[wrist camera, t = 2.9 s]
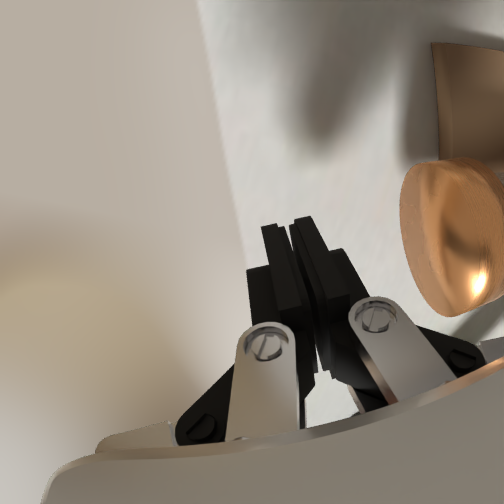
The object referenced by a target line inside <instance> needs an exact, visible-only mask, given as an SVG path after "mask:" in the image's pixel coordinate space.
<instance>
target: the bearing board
mask: <svg viewBox="0 0 504 504" xmlns="http://www.w3.org/2000/svg"><path fill="white" fill-rule="evenodd" d="M431 46H432V53H433V61H434V69H435V78H436V89H437V102H438V121H439V160H446V159H453V158H461V157H469V158H473V159H476V160H478V161H480V162H482V163H483V164H485V165H486V166H487V167H489V168H490V169H491V170H492V171H493V172H494V173H499V172H504V52H503V51H498V50H493V49H487V48H481V47H474V46H467V45H459V44H449V43H431Z"/></svg>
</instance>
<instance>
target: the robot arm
mask: <svg viewBox="0 0 504 504" xmlns="http://www.w3.org/2000/svg"><path fill="white" fill-rule="evenodd" d="M261 230H262V234H263V239H264V244H265V248H266V253H267V257H268V262H269V265H265V266H261V267H256V268H252V269H247V270H246V273H247V283H248V291H249V300H250V308H251V318H252V327H250V328H249V329H248V330H246V331H245V332H244V333H243V334H242V336H241V337H240V338H239V341H238V344H237V350H236V358H235V363H234V364H233V366H232V367H231V368H230V369H229V370H228V371H227V372H226V373H225V374H224V375H223V376H222V377H221V378H220V379H219V380H218V381H217V382H216V383H215V384H214V385H213V386H212V387H211V388H210V389H209V390H207V392H206V393H204V395H202V396H201V397H200V398H199V399H198V400H197V401H196V402H195V403H194V404H193V405H192V406H191V407H190V408H189V409H188V410H187V411H186V412H185V413H184V414H183V415H182V416H181V417H180V419H179V420H178V421H176V422H173V423H169V421H164V422H161V423H158V424H154V425H150V426H146V427H143V428H139V429H135V430H131V431H127V432H123V433H119V434H114V435H110V436H108V437H106V438H104V439H103V440H102V441H101V442H100V443H99V444H98V446H97V448H96V450H95V454H91V455H88V456H84V457H81V458H79V459H76V460H74V461H71V462H69V463H67V464H65V465H63V466H62V467H60V468H59V469H58V470H57V471H55V472H54V473H53V475H52V476H51V478H50V479H49V481H48V483H47V485H46V488H45V490H44V493H43V497H42V500H41V504H504V337H500V338H495V339H490V340H486V341H480V342H479V344H478V346H475V345H473V344H471V343H469V342H467V341H464V340H461V339H458V338H454V337H451V336H448V335H445V334H442V333H439V332H436V331H433V330H430V329H426V328H423V327H420V326H417V325H415V324H414V323H413V322H412V320H411V319H410V318H409V317H408V315H407V314H406V313H405V312H404V311H403V309H402V308H401V307H400V306H399V305H398V304H397V303H396V302H394V301H392V300H390V299H388V298H385V297H379V296H378V297H370V296H369V294H368V292H367V290H366V288H365V287H364V285H363V283H362V281H361V279H360V277H359V276H358V274H357V272H356V270H355V268H354V267H353V265H352V263H351V261H350V260H349V258H348V256H347V254H346V253H345V251H344V250H343V249H342V248H340V249H336V250H331V251H329V250H328V248H327V246H326V244H325V242H324V240H323V239H322V237H321V235H320V233H319V231H318V229H317V227H316V225H315V223H314V221H313V219H312V218H311V216H307V217H303V218H298V219H294V224H291V225H289V230H290V235H291V241H292V247H293V250H292V247H291V244H290V241H289V238H288V236H287V233H286V230H285V227H284V226H282V227H278V225H277V223H275V224H271V225H266V226H262V227H261ZM315 344H316V346H315ZM316 348H317V351H318V355H319V358H320V362H321V365H322V369H323V371H326V370H330V373H331V377H332V379H334V378H336V379H337V380H338V381H340V382H343V383H345V384H347V387H348V390H349V392H350V394H351V396H352V398H353V400H354V402H355V404H356V406H357V408H358V410H359V412H360V413H361V414H360V415H357V416H353V417H350V418H346V419H342V420H338V421H335V422H331V423H327V424H323V425H318V426H314V427H310V428H307V415H306V399H305V398H306V397H307V395H308V394H309V393H310V391H311V390H312V389H313V387H314V386H315V379H314V373H318V365H317V355H316Z"/></svg>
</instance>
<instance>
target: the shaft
mask: <svg viewBox="0 0 504 504" xmlns="http://www.w3.org/2000/svg"><path fill="white" fill-rule="evenodd" d="M400 226H401V234H402V240H403V245H404V250H405V254H406V257H407V261H408V264H409V267H410V270H411V273H412V275H413V278H414V280H415V283H416V285H417V287H418V289H419V291H420V293H421V294H422V296H423V297H424V299H425V300H426V302H427V303H428V304H429V305H430V306H431V308H432V309H433V310H435V311H436V312H437V313H439V314H440V315H443V316H445V317H455V316H458V315H460V314H463V313H466V312H468V311H471V310H473V309H476V308H478V307H480V306H483V305H485V304H488V303H490V302H492V301H495V300H497V299H498V298H500V297H501V296H503V295H504V172H499V173H494V172H493V171H492V170H491V169H490V168H489V167H487V166H486V165H485V164H483V163H482V162H480V161H478V160H476V159H473V158H469V157H461V158H453V159H446V160H439V161H431V162H425V163H419V164H416V165H415V166H413V167H412V168H411V169H410V170H409V171H408V173H407V174H406V176H405V179H404V181H403V184H402V189H401V194H400Z"/></svg>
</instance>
